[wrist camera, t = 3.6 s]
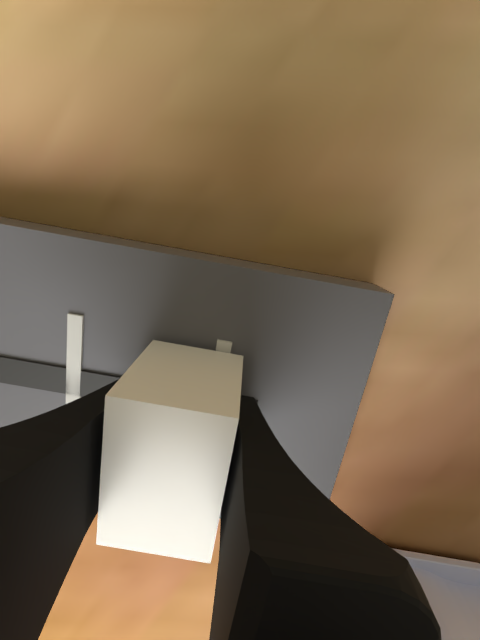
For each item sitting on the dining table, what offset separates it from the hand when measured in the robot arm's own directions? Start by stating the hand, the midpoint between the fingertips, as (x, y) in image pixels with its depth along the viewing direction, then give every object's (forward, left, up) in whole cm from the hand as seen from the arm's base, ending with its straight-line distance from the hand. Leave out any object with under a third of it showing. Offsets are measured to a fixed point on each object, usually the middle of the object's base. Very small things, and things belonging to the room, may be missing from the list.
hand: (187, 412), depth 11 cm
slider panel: (+4, 0, -3) cm, 5 cm away
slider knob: (0, 0, 0) cm, 0 cm away
